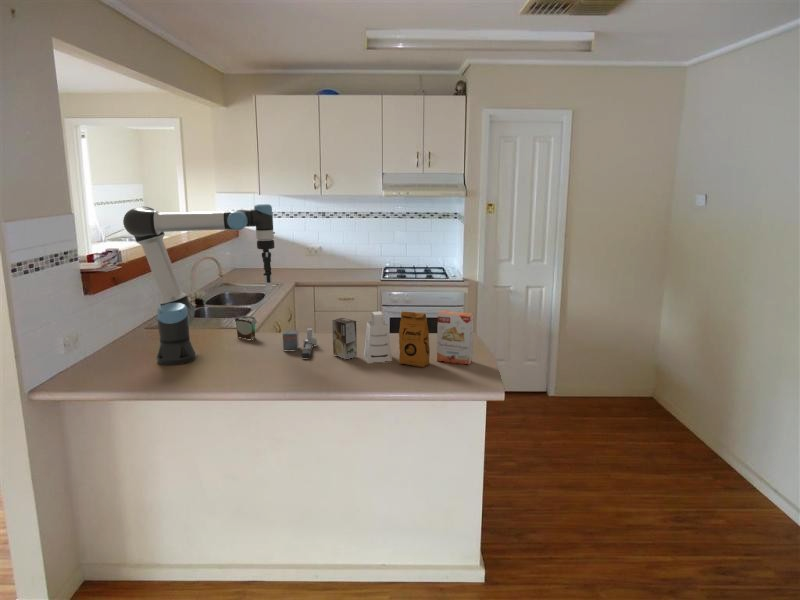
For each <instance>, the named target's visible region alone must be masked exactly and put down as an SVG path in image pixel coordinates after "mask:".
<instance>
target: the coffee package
mask: <svg viewBox="0 0 800 600" xmlns="http://www.w3.org/2000/svg"><path fill="white" fill-rule="evenodd" d="M400 316H401V317H400V322H399V330H398V337H399V338H398V344H399V346H398V348H399V357H398V358H399V360H398V363H399V364H403V365H408V366H412V367H421V368H425V367H426V366H428V365H429V364H430V353H431V352H430V351H431V350H430V337H429V335H430V334H429V333H430V331H429V327H428V318H427V315H426V313H422V312H413V311H401V313H400Z"/></svg>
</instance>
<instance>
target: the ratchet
mask: <svg viewBox="0 0 800 600" xmlns="http://www.w3.org/2000/svg"><path fill="white" fill-rule="evenodd" d="M302 342H303V347H304V346H305V347H304V348H302V349H303V350H302V352H301V359H302V358H310V359H311V357H310V355H311V356H312V351H311V349H312V350H313V348H312V346H314V345H316V344H317V345H318V343H317V342H318V340H317V338H315V337H313V328H309V327H308V328H307V329H306V338H304V339H303V341H302Z"/></svg>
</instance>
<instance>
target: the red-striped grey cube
mask: <svg viewBox="0 0 800 600" xmlns="http://www.w3.org/2000/svg"><path fill="white" fill-rule="evenodd" d="M282 342H283V343H282V347H283V351H284V350H297V349H298V350H299V348H298V346H299V347H300V343H299V330H298V329H296V330H294V329H293V330H292V329H291V330H284V331H283V333H282ZM298 350H297V351H298Z"/></svg>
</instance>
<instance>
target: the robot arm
mask: <svg viewBox="0 0 800 600" xmlns="http://www.w3.org/2000/svg"><path fill="white" fill-rule="evenodd" d="M273 215H274V214H273V206H272V205H271V204H270V203H269V204H267V203H266V204H265V203H264V204H262V203H261V204H255V205H254V207H253V208H251V209H243V208H242V209H227V210H225V211H189V212H187V211H186V212H184V211H183V212H159V211H158V210H157V209H154V208H152V207H149V206H138V207H136V208H135V207H134V208H132V209H130V210H128V211H127V212H126V213H125V214H124V216H123V220H122V221H123V222H122V223H123V227H124V228H125V230H126V232H127V233H128V234H130V235H131V236H133V237H134V240H135V243H136V244H139V245H140V246H142V249H143V252H144V255H145V258H146V260H147V262H148V264H149V268H150V271H151V273H152V276H153V278H154V280H155V284H156V286H157V289H158V291H159V294H160V296H161V299H160V301H159V304H160V306H159V307H158V309H157V313H156V316H157V317H156V318H157V325H158V336H159V348H158V351H157V356H156V362H157V364H160V365H161V366H163V365H164V366H177V365H183V364H188V363H191V362H193V361H195V359H196V357H197V356H196V351H195V349H194V347H193V345H192V341H191V340H190V339H191V338H190V324H191V323H192V322H193V320H194V319H195V315H196V313H195V312H196V311H195V310H196V309H195V306H194V305H193V303H192V302H191V301H190V299H189V296H188V294H187V293H185V292H184V291H182V289H181V286H180V283H179V280H178V278H177V275H176V273H175V269H174V266H173V263H172V261H171V258H170V256H169V253H168V250H167V248H166V245H165V243H164V237H165V233H168V232H169V233H170V232H171V233H172V232H194V231H195V232H197V231H198V232H199V231H201V232H202V231H221V230H222V231H227V230H229V231H230V230H232V231H233V230H234V231H242V230H243V229H245V228H247V227H248V228H249V227H250V228H251V227H255V235H256V236H255V239H256V248H257V249H258V250H262V252H261V257H262V262H263V279H264V285H265V291H271V290H273V281H272V280H273V279H272V265H271V263H272V258H271V257H272V253H271V251H270V250H272V249H274V248H275V240H274V238H275V237H274V236H275V234H276V232H275V231H274V219H273V218H274V217H273Z"/></svg>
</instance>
